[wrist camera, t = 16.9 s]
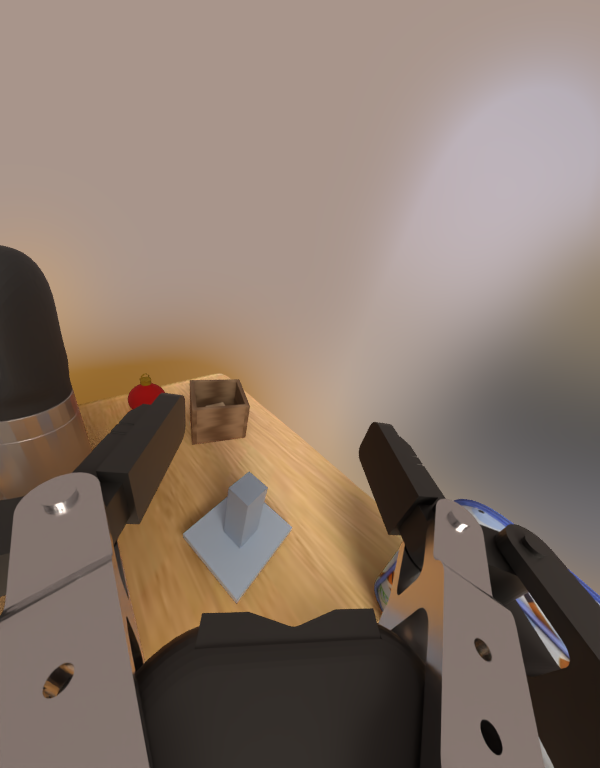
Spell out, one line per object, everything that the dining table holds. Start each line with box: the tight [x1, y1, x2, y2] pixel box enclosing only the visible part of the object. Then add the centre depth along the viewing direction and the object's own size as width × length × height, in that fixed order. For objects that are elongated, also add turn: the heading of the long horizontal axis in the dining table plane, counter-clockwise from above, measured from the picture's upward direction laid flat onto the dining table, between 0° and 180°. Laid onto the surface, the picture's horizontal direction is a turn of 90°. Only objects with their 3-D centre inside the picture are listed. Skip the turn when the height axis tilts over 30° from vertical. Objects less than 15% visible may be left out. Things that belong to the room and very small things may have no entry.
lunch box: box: [374, 499, 600, 768], centre depth 20 cm, size 28×10×22 cm, turn 32°
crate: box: [190, 380, 250, 445], centre depth 51 cm, size 11×11×9 cm
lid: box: [183, 472, 292, 604], centre depth 31 cm, size 11×11×12 cm
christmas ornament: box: [128, 374, 165, 409], centre depth 50 cm, size 7×7×10 cm
